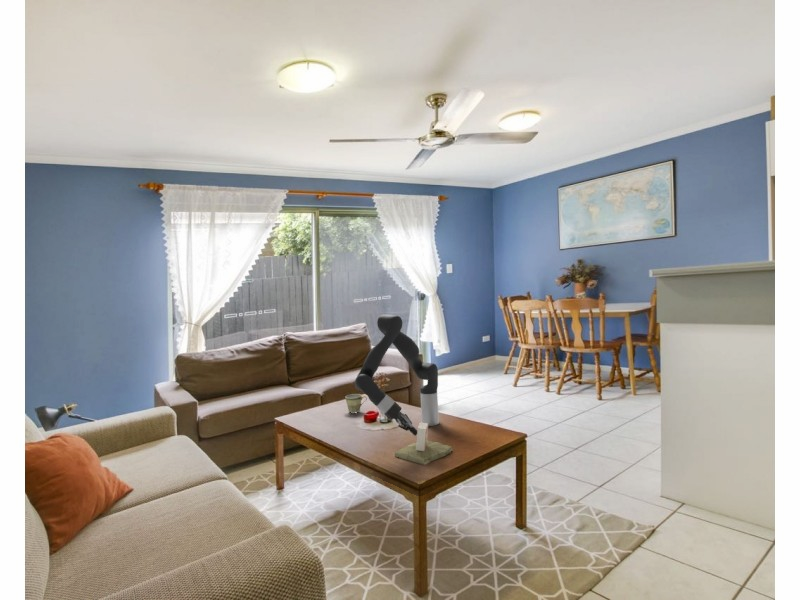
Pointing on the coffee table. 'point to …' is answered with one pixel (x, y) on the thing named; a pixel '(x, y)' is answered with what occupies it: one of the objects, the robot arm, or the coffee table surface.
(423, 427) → the white rectangular block
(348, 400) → the ceramic cup
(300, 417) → the coffee table surface
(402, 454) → the decorative tile
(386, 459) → the coffee table surface
